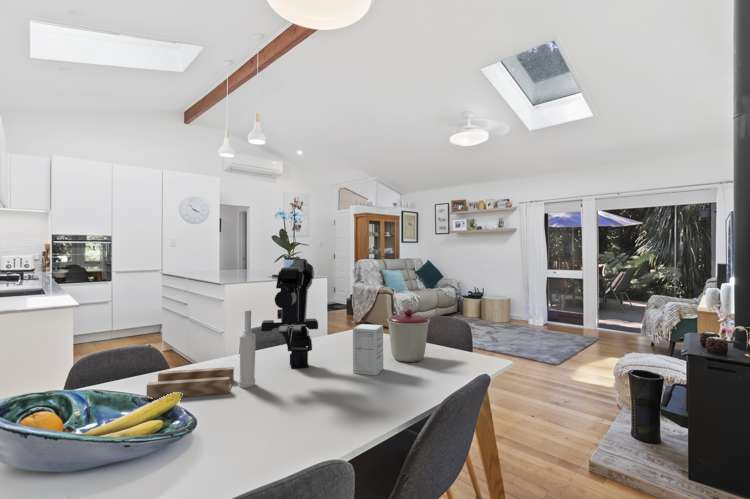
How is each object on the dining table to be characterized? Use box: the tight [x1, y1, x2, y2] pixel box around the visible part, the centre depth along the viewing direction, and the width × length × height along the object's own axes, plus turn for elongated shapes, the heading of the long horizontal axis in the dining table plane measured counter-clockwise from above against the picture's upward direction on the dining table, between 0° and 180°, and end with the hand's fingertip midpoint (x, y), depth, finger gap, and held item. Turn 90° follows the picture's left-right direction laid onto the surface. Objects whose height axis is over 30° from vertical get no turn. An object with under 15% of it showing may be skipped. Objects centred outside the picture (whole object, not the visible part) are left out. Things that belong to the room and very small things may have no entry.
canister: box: [386, 308, 431, 363], centre depth 157 cm, size 18×18×21 cm
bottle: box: [238, 309, 257, 389], centre depth 124 cm, size 5×5×25 cm
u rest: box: [146, 366, 235, 401], centre depth 120 cm, size 23×13×4 cm, turn 104°
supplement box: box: [352, 323, 384, 376], centre depth 141 cm, size 10×9×17 cm
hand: (289, 349), depth 128 cm, fingers closed
